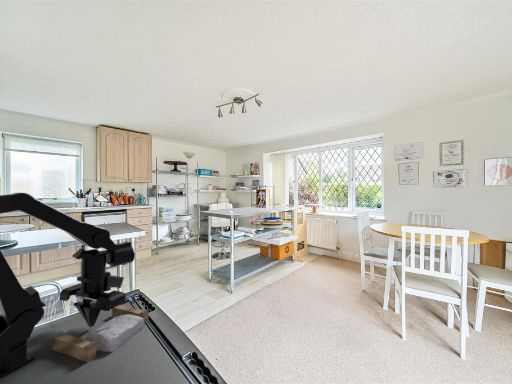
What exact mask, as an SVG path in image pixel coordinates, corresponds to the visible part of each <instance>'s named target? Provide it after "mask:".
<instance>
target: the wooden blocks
mask: <svg viewBox="0 0 512 384" xmlns="http://www.w3.org/2000/svg"><path fill="white" fill-rule="evenodd" d="M149 313H150V310H149V309H140V308H135V307H131V306H126V305H123V304H120V305H118V306H116V307H114V308H112V309H111V317H112V318H114V317H117V316H121V315H127V314H129V315H134V316H138V317H141V318H143V321H144V324H143V326H144V325H145V324H147V323H148V322H149V315H150V314H149ZM96 346H97V342H95V341H92V342H89V341H86V339H83V338H79V337H76V336H74V335H70V334H68V333H63V332H59V333H58V334H56V335H54V336H52V337H51V350H52V351H55V352H56V353H57V352H58V353H60V354H63V355H65V356H68V357H71V358H74V359H76V360H79V361H82V362H85V363H86V364H87V363H89V362H90V361H92V360H93V359H95V358H96V357H97V351H96Z"/></svg>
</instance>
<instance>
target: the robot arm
mask: <svg viewBox="0 0 512 384" xmlns="http://www.w3.org/2000/svg"><path fill="white" fill-rule="evenodd" d="M14 211H15V212H16V211H19V212H22V213H23V214H26V215H28V216H30V217H33V218H34V219H37V220H39V221H40V222H43V223H46V224H47V225H50V226H52V227H55V228H56V229H59V230H61V231H64V232H65V233H66V234H67V235H69V236H71V238H73V239H74V240H76V241H77V242H78V243H79V244H82V245H83V246H85V247H89V248H92V249H87V250H85V249H84V248H79V249H78V250H77V251H76V252H75V253H73V254H72V256H71V257H72V258H73V259H76V260H81V265H80V267H81V268H80V275H79V276H78V275H77V276H76V281H77V282H80V283H76V284H73V285H70V286H68V287H65V288H63V289H62V290H61V291H60V292H59V297H58V298H59V301H63V302H67V301H69V299H70V298H71V297H72V296H75V298H76V302H74V303H73V307H75V308H76V310H77V311H78V312H79V314H80V315H81V316H82V319H83V320H84V322H85V323H86V324H87V326H88V327H89V328H92V327H93V326H95V325H96V323H97V320H98V317H99V316H100V313H101V311H102V312H103V311H104V312H107V311H110V310H112V308H114V307H116V306H118V305H123V304H124V303H125V302H126V297H127V294H126V293H125V292H124V291H118V290H112V289H113V288H114V289H115V288H118V289H122V284H123V282H124V279H125V277H124V276H119V275H112V274H111V272H110V271H107V267H106V266H107V265H109V266H110V267H111V268H113V267H114V268H115V267H117V266H118V267H119V266H121V265H126V264H130V263H131V264H132V263H133V262H134V260H135V259H136V257H135V256H136V253H135V250H134V248H133V246H132V242H131V241H124V242H120V243H115V242H114V241H113V239H111V234H110V231H109V230H108V229H106V228H104V227H101V226H97V225H94V224H92V223H91V224H90V223H88V222H87V223H86V222H84V221H80V220H78V219H76V218H74V217H72V216H71V215H68V214H66V213H64V212H63V211H61V210H60V209H59V210H58V209H57V208H55V207H53V206H51V205H49V204H47V203H46V202H43V201H41V200H39V199H38V198H35V197H34V196H33V195H32V194H29V193H27V192H14V193H13V192H12V193H10V194H1V195H0V215H1V214H6V213H11V212H14ZM99 249H103V250H99ZM111 288H112V289H111ZM111 290H112V291H111ZM108 291H110V292H108ZM43 307H47V304H46V303H45V302H44V301H43V300H41V296H40V293H39V291H38V290H37V289H36V288H34V287H33V286H32V285H29V286H28V287H26V288H25V289H24V288H23V287H22V284H21V283H20V281H19V280H18V279H17V276H16V275H15V273H14V271H13V269H12V268H11V267H10V265H9V262H8V261H7V259H6V258H5V256H4V254H3V252H2V251H1V250H0V378H2V377H4V376H5V375H7V374H8V373H9V374H10V372H13V371H15V370H17V369H18V368H20V367H22V366H24V365H26V364H28V363H29V362H31V361H33V360H35V357H36V355H34V354H32V353H30V352H28V339H30V338H31V336H32V333H33V331H34V329H35V326H36V325H38V324H39V322H40V321H41V320H42V318H43V316H44V315H45V309H44V308H43Z"/></svg>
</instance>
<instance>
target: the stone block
mask: <svg viewBox="0 0 512 384" xmlns="http://www.w3.org/2000/svg"><path fill="white" fill-rule="evenodd" d="M143 324H144V321H143V318H141V317H138V316H134V315H129V314H127V315H121V316H117V317H112V318H111V319H109V320H108V321H106V322H104V323H103V324H102V325H101V326H99V328H97V329H95V330H94V331H91V332H90V333H88V334H87V335H85V336H86V337H85V340H86V341H89V342H92V341H95V342H97V346H96V352H97V351H98V352H99V351H101V352H103V353H104V352H106V353H107V352H108V353H113V352H115V351H116V350H117V349H120V347H121V346H123V345H124V344H125V343H126V342H127V341H129V340H130V339H131V338H132V337H133V336H134V335H137V333H138V332H140V331H141V329H143V327H144V325H145V324H144V325H143Z"/></svg>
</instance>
